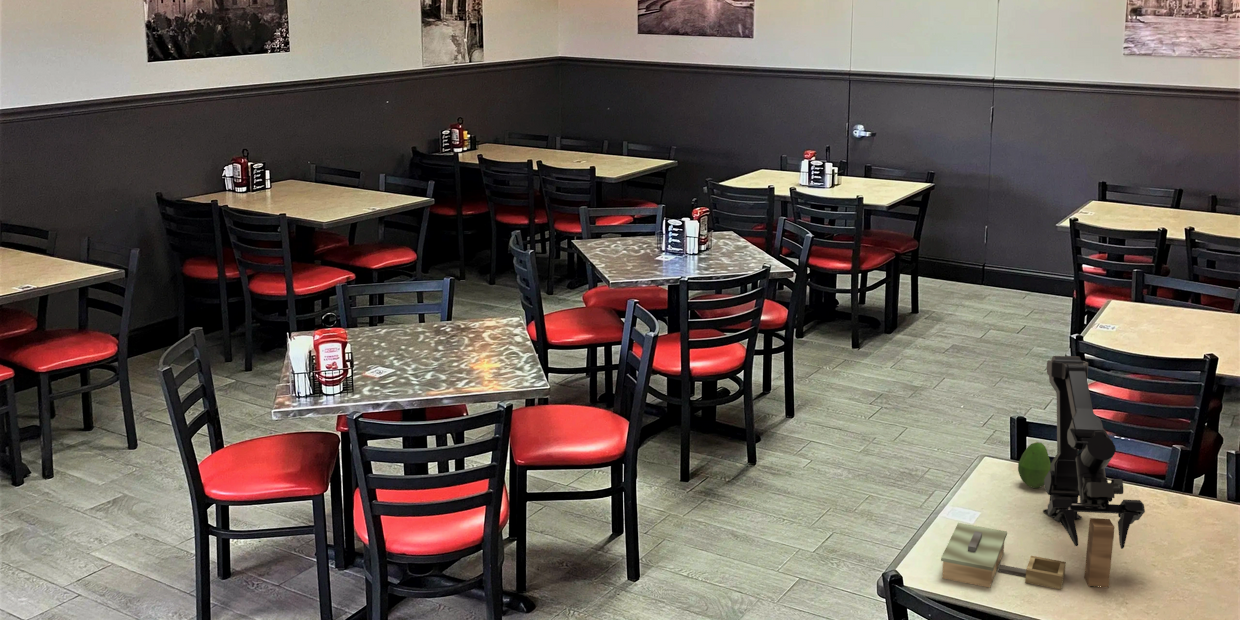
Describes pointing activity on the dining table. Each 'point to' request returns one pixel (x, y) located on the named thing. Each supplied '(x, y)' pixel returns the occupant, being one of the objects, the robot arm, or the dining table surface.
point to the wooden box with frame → (992, 559)
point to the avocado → (1034, 465)
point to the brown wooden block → (1099, 552)
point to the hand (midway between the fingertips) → (1099, 547)
